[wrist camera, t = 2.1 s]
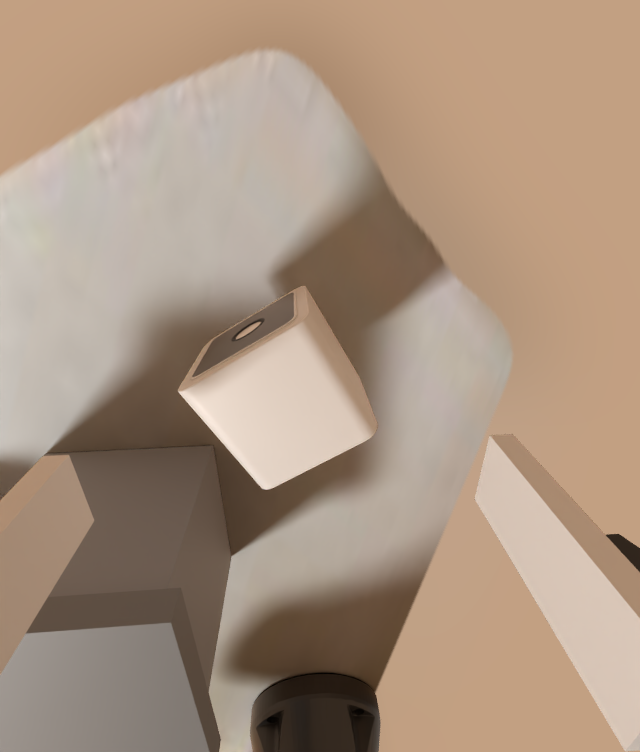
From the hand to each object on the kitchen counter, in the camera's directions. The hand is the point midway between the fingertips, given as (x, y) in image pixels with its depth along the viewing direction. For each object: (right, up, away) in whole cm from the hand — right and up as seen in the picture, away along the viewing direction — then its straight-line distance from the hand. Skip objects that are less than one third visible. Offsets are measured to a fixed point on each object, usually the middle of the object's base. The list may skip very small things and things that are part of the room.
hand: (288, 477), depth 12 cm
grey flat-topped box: (-13, -8, +18) cm, 23 cm away
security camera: (-1, +6, +13) cm, 14 cm away
